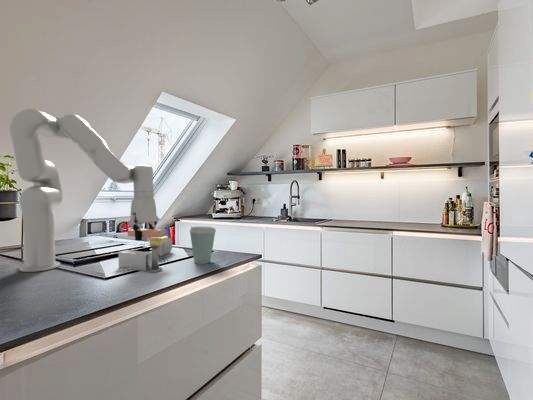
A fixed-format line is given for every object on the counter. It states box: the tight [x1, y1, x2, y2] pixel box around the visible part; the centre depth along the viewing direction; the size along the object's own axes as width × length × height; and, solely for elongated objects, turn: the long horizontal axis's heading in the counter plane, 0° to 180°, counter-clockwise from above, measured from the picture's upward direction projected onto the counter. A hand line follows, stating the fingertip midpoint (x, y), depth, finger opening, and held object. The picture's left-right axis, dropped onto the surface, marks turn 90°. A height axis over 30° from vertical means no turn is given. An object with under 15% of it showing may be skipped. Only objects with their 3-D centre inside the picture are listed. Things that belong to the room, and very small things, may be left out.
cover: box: [127, 228, 163, 239], centre depth 126 cm, size 13×6×2 cm, turn 66°
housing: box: [117, 246, 163, 273], centre depth 116 cm, size 19×5×9 cm, turn 66°
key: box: [148, 235, 169, 247], centre depth 117 cm, size 11×4×3 cm, turn 172°
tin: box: [158, 235, 173, 258], centre depth 140 cm, size 15×3×8 cm, turn 172°
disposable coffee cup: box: [189, 225, 217, 265], centre depth 126 cm, size 11×11×15 cm
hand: (145, 238), depth 126 cm, fingers closed on cover, 6 cm apart
